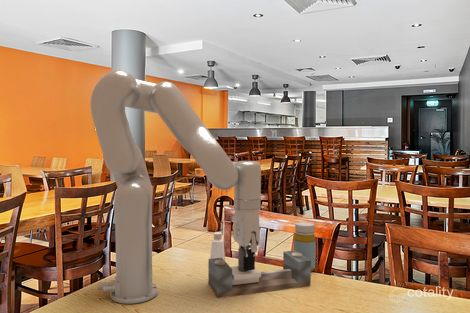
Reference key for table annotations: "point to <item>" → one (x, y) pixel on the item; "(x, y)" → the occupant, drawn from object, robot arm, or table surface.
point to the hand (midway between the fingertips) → (246, 267)
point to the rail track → (290, 277)
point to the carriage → (239, 274)
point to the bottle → (305, 241)
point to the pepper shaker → (217, 246)
